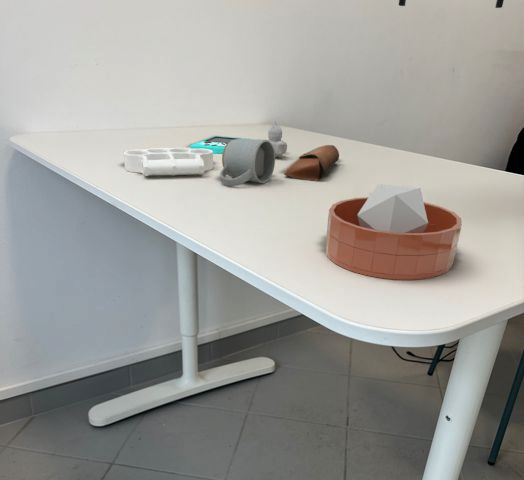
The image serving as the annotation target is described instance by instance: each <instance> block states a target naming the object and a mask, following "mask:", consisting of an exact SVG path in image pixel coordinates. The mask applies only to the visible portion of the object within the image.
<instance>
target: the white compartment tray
mask: <svg viewBox="0 0 524 480" xmlns="http://www.w3.org/2000/svg"><path fill="white" fill-rule="evenodd" d="M123 163H124V170H125V171H126V172H130V173H137V174H142V176H144V177H150V176H182V175H199V176H202V175H204V174H205V172H207V171H210V170H213V169H214V153H213V151H212V150H209V149H202V148H200V149H190V147H189V148H187V147H151V148H144V149H142V148H141V149H127V150H125V151H124V152H123Z"/></svg>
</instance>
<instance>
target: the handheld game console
mask: <svg viewBox="0 0 524 480" xmlns="http://www.w3.org/2000/svg"><path fill="white" fill-rule="evenodd" d="M235 139H245V137H244V138H243V137H231V136H222V135H221V136H219V135H214V136H212V137H209V138H206V139H204V140H201V141H198V142H196V143H193V144H191V145H190V146H189V149H200V148H202V149H209V150H212V151H213V154H223V151H224V148H225V146H226V144H227V143H228V142H230V141H232V140H235Z"/></svg>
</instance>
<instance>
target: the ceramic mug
mask: <svg viewBox="0 0 524 480" xmlns="http://www.w3.org/2000/svg"><path fill="white" fill-rule="evenodd" d="M268 140H269V139H254V138H253V139H252V138H244V139H235V140H232V141H230V142H228V143H227V144H226V146H225V148H224V151H223V153H222V157H221V164H222V167H223V168H222V169H221V170H220V172H219V177H220V180H221V183H222V184H223V185H225V186H227V187H237V186H241V185H243V184H245V183H247V182H252V183H258V184H266V183H267V182H268V181H269V180H270V179H271V178H272V176H273V173H274V170H275V167H276V166H275V165H276V157H275V152H274V148H273V145H272V144H271V142H270V141H268ZM227 176H228V177H231V178H226V177H227Z"/></svg>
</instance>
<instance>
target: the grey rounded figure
mask: <svg viewBox="0 0 524 480" xmlns="http://www.w3.org/2000/svg"><path fill="white" fill-rule="evenodd" d="M267 137H268V139H267V140H268V141H270V142H271V144H272V145H273V148H274V152H275V158H280V157H282V156H283V155H285V154H286V153H287V150H288V144H287V142H285V141H284V140H282V139H283V129H282V128H281V125H280V124H277V122H276V120H274V121H273V124H271V126H270V128H269V130H268V134H267Z"/></svg>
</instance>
